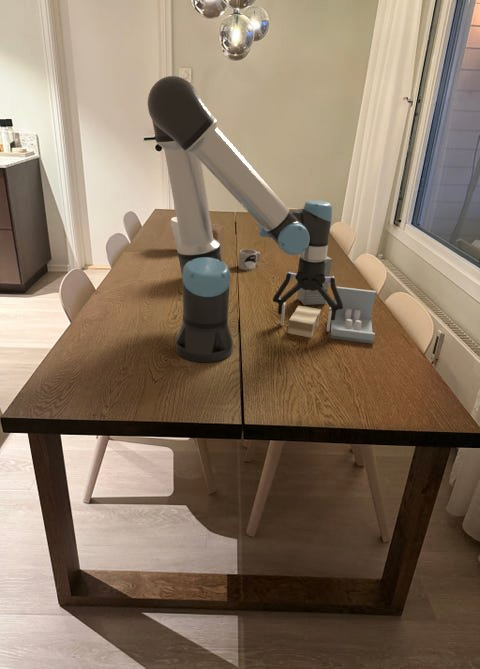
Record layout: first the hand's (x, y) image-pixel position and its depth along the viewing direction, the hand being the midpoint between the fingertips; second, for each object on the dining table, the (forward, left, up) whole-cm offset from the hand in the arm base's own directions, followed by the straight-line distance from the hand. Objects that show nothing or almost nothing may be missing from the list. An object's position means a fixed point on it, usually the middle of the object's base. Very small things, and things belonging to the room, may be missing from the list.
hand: (304, 326), depth 146 cm
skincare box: (+22, -1, 0) cm, 22 cm away
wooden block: (+30, +38, 0) cm, 49 cm away
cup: (+62, +55, 0) cm, 83 cm away
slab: (0, 0, -1) cm, 1 cm away
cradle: (+3, -14, 0) cm, 14 cm away
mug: (+51, +25, 0) cm, 57 cm away
